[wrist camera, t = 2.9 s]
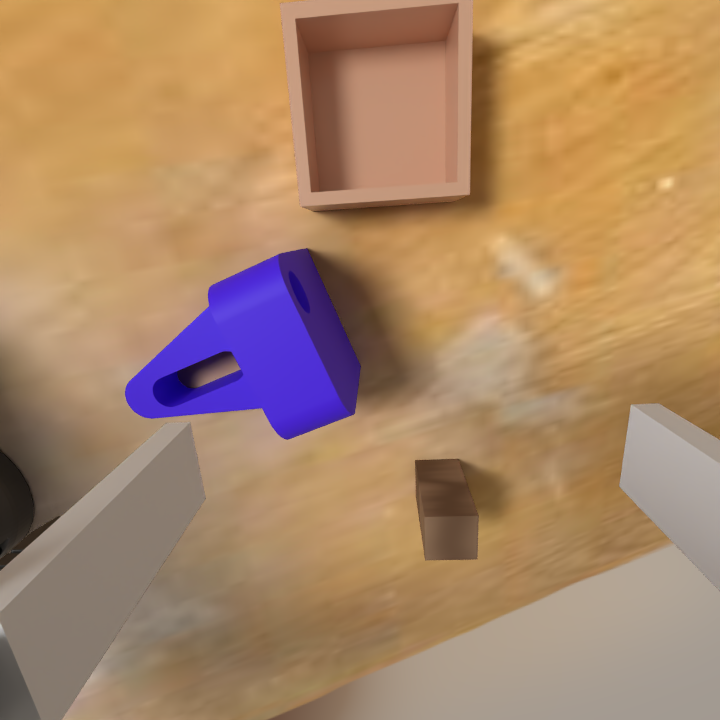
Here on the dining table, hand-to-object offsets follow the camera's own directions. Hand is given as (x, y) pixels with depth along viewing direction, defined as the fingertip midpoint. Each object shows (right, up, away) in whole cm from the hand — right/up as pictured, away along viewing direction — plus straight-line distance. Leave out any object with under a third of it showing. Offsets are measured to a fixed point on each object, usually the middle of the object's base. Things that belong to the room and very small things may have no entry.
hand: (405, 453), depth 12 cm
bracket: (-12, +4, +23) cm, 27 cm away
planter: (0, +20, +18) cm, 27 cm away
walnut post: (+6, -8, +26) cm, 28 cm away
